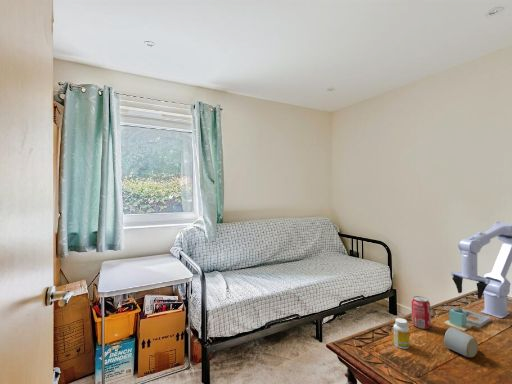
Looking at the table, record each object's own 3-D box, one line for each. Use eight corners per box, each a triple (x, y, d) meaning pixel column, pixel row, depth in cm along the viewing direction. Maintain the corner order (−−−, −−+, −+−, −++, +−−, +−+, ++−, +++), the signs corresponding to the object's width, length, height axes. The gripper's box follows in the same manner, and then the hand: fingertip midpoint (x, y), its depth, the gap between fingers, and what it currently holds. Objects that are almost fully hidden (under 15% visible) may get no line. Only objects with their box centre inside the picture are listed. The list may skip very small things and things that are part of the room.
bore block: (462, 311, 132) (462, 308, 132) (490, 320, 123) (490, 317, 123) (450, 317, 126) (450, 314, 126) (479, 327, 117) (479, 324, 117)
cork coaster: (452, 318, 125) (452, 317, 125) (473, 326, 118) (473, 325, 118) (443, 323, 121) (443, 322, 121) (464, 331, 114) (464, 330, 114)
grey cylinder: (469, 362, 94) (468, 339, 94) (443, 350, 102) (443, 329, 102) (484, 353, 99) (484, 332, 99) (459, 342, 106) (458, 322, 106)
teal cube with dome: (454, 320, 123) (454, 305, 123) (466, 324, 119) (466, 309, 119) (449, 322, 121) (449, 308, 120) (461, 327, 117) (461, 312, 116)
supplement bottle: (390, 343, 107) (390, 319, 106) (399, 340, 109) (399, 315, 109) (403, 350, 102) (402, 325, 102) (412, 346, 104) (412, 321, 104)
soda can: (425, 322, 123) (425, 295, 122) (434, 330, 116) (433, 302, 115) (409, 321, 123) (408, 295, 123) (416, 329, 116) (416, 301, 116)
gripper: (447, 263, 130) (447, 292, 130) (485, 270, 117) (485, 302, 117) (454, 261, 133) (454, 289, 133) (492, 268, 121) (492, 299, 121)
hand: (469, 295), depth 125 cm, fingers open, 7 cm apart
